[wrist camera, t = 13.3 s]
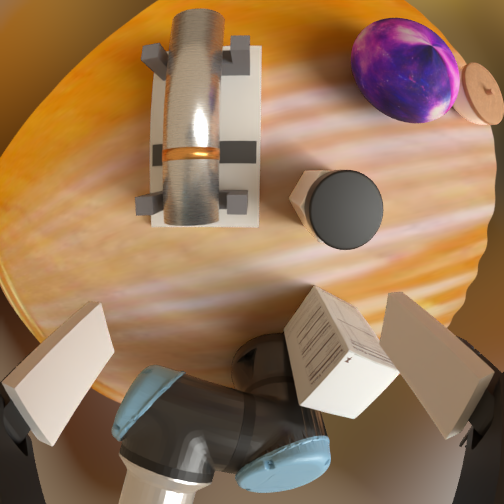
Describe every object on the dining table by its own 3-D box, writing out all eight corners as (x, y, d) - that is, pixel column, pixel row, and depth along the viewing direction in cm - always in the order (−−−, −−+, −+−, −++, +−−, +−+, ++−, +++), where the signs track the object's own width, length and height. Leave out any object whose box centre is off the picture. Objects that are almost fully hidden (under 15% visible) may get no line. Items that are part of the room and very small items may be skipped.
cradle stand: (258, 225, 38) (260, 243, 29) (155, 225, 38) (126, 242, 28) (261, 50, 31) (263, 16, 21) (159, 56, 31) (134, 29, 21)
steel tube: (229, 218, 30) (199, 228, 25) (185, 214, 33) (151, 223, 27) (234, 25, 24) (207, 2, 18) (191, 36, 26) (161, 19, 21)
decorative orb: (381, 31, 29) (425, -9, 14) (435, 104, 32) (495, 89, 18) (316, 65, 31) (348, 16, 17) (379, 146, 35) (440, 139, 20)
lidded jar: (435, 108, 32) (470, 100, 23) (440, 61, 29) (471, 47, 20) (474, 137, 33) (509, 136, 24) (478, 91, 30) (510, 85, 21)
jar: (327, 240, 39) (356, 267, 27) (279, 211, 38) (291, 229, 26) (358, 187, 37) (398, 195, 25) (311, 156, 35) (337, 150, 24)
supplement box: (281, 329, 43) (294, 406, 27) (313, 283, 41) (346, 348, 24) (327, 349, 44) (354, 421, 28) (359, 308, 42) (403, 372, 26)
